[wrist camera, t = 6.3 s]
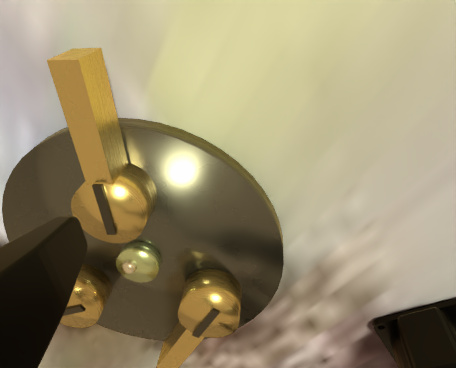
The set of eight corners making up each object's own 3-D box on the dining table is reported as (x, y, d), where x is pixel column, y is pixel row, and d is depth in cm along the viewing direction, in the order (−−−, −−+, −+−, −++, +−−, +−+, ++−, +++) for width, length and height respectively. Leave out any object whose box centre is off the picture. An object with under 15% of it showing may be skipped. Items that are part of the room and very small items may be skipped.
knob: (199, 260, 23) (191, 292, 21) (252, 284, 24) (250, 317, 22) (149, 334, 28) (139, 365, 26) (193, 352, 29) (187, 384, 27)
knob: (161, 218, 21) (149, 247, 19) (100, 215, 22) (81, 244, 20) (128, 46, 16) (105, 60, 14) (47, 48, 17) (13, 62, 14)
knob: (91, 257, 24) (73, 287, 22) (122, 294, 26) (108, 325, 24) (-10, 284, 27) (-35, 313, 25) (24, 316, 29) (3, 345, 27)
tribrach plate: (330, 288, 25) (336, 322, 23) (135, 348, 32) (124, 379, 30) (168, 51, 17) (152, 65, 15) (-41, 200, 24) (-75, 225, 22)
